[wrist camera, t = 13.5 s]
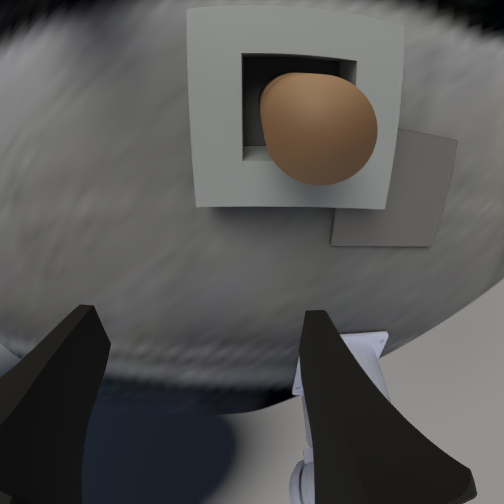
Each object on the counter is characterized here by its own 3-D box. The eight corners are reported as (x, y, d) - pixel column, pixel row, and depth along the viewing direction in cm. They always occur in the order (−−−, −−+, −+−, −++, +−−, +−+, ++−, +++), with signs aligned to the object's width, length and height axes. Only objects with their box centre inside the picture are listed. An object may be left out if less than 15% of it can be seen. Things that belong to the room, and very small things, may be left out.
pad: (429, 243, 20) (431, 246, 20) (329, 242, 20) (330, 245, 20) (454, 139, 16) (457, 141, 15) (343, 122, 16) (345, 124, 16)
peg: (323, 133, 16) (373, 185, 10) (260, 135, 16) (266, 187, 10) (323, 72, 14) (379, 78, 8) (256, 73, 14) (260, 74, 8)
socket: (367, 188, 18) (384, 209, 16) (204, 185, 18) (196, 207, 16) (381, 29, 13) (404, 25, 10) (197, 18, 13) (186, 8, 10)
